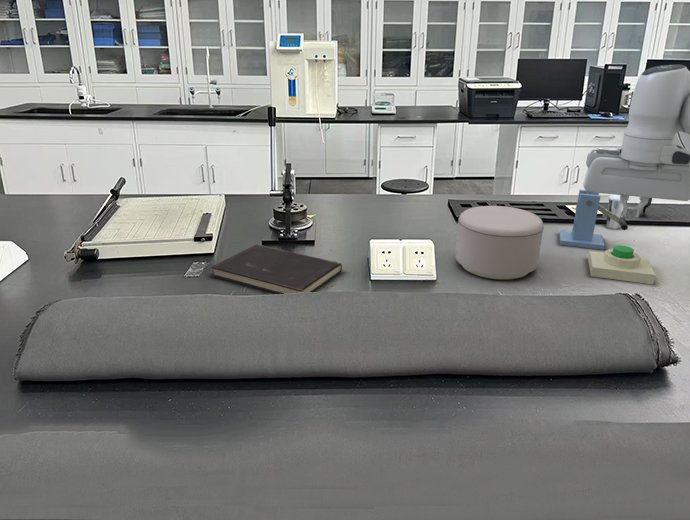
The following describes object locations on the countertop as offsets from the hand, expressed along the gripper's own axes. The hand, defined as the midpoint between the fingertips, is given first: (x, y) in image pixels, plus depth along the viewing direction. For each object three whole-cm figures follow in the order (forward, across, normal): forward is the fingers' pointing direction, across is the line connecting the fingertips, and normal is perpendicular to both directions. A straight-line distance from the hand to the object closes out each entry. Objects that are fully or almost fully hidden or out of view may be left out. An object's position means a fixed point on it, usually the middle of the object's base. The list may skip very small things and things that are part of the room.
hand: (629, 216), depth 112 cm
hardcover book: (+14, -70, -27) cm, 76 cm away
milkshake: (+13, +2, +33) cm, 36 cm away
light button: (+9, 0, 0) cm, 9 cm away
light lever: (+5, -3, +17) cm, 18 cm away
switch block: (+13, 0, 0) cm, 13 cm away
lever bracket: (+13, -7, +17) cm, 22 cm away
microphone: (+13, +11, +46) cm, 49 cm away
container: (+13, -26, -6) cm, 30 cm away
